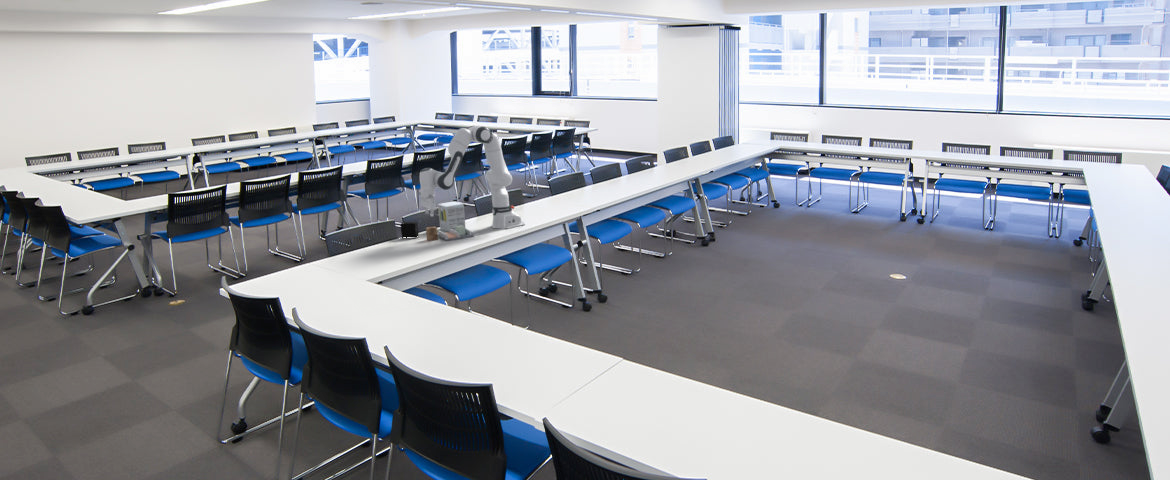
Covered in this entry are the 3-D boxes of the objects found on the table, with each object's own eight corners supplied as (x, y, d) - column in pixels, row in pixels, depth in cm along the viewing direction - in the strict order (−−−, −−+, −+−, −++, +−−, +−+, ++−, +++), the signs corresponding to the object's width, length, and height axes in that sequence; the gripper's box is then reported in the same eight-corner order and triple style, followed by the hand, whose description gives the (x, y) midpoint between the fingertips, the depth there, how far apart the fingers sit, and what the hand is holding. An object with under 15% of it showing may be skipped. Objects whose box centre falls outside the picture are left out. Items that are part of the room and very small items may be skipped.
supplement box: (439, 229, 516) (437, 203, 511) (457, 225, 523) (454, 200, 519) (448, 232, 505) (446, 206, 501) (466, 228, 513) (464, 203, 508)
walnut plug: (435, 238, 491) (434, 226, 489) (437, 239, 487) (436, 227, 485) (426, 239, 488) (425, 227, 486) (428, 241, 484) (427, 228, 482)
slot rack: (464, 231, 506) (463, 222, 504) (473, 236, 490) (473, 227, 489) (436, 235, 497) (435, 227, 495) (445, 241, 482) (444, 232, 480)
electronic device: (416, 238, 493) (414, 223, 490) (401, 238, 495) (400, 223, 492) (418, 236, 497) (417, 221, 494) (404, 236, 499) (403, 221, 496)
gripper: (438, 195, 473) (439, 217, 476) (427, 190, 490) (429, 211, 493) (428, 196, 470) (430, 218, 473) (418, 192, 487) (420, 213, 490)
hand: (429, 215), depth 483 cm, fingers open, 8 cm apart
